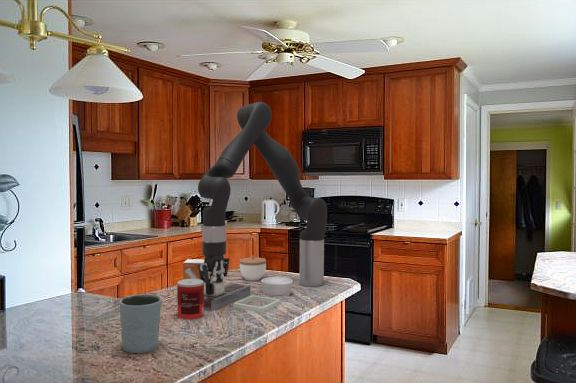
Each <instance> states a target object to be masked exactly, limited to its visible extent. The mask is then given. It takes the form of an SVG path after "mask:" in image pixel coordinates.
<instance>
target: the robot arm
mask: <svg viewBox="0 0 576 383" xmlns="http://www.w3.org/2000/svg"><path fill="white" fill-rule="evenodd" d="M272 112H273V111H272V109H271V107H270V106H269V105H268V104H267V103H266V102H263V101H257V102H252V103H250V104H246V105H244V106H241V107H240V108H239V109H238V110H237V112H236V118H237V120H236V121H237V123H238V124H239V126H240V128H241V131H240V132H239V133H238V134H237V135H236V136H235V137H234V138H233V139H232V140H231V141H230V142H229V143H228V144H227V145H226V146H225V148H224V149H223V151H222V152H221V154H220V155H219V157H218V159H217V161H216V162H215V163H214V165H213V166H211V167H210V168H209V169H208V170H207V171H206V172H205V173H204V174H203V175H202V177H201V178H200V180H199V182H198V185H197V191H198V194H199V196H200V197H201V198H203V199H209V200H212V202H211V205H210V206H207V207H205V208H203V211H202V230H201V231H202V234H201V235H202V236H201V241H202V243H201V244H202V245H201V246H202V247H201V249H202V250H201V253H202V255H203V256H204V259H203V260H204V263H203V264H199V265H198V269H199V275H200V280H203V282H205V284H206V294H207V295H212V294H213V283H212V282H213V280H214V277H215V278H216V279H215V280H217V281H224V278H225V277H228V273H229V266H230V258H229V257H224V256H225V255H226V254H227V230H226V212H227V208H228V205H229V201H230V200H229V199H230V196H231V185H230V182H229V180H228V179H230V178H232V177H234V176H235V174H236V172H237V171H238V169H239V167H240V166H241V164H242V161H244V159H245V157H246V155H247V153H248V152H249V151H250V149H251V148H252V146H253V145H254V146H255V148H256V149H257V150H258V152H259V153H260V155H261V156H262V158H263V160H264V162H266V164H267V166H268V167H269V170H270V171H271V172H272V174H273V176H274V177H275V179H276V180H277V181H278V183H279V185H280V186H281V187H282V189H283V191H284V192H285V194H286V196H287V197H288V200H289V202H290V203H291V206H292V207H293V209H294V210H293V211H295V214H296V215H297V217H299V219H301V220H302V221H306V227H305V229H304V230H303V229H302V230H301V231H300V232H299V285H301V286H305V287H320V286H323V285H324V280H325V279H324V271H325V267H324V266H325V265H324V264H325V260H324V259H325V236H326V235H325V234H326V232H327V222H328V221H327V219H328V206H327V203H326V201H325V200H324V199H323V198H320V197H314V196H313V197H312V196H309V194H308V193H307V191H305V189H304V187H303V185H302V183H301V178H300V177H301V176H300V175H301V174H300V168H299V166H298V164H297V162H296V161H295V159H294V157H293V156H292V154H291V152H290V151H289V150H288V149H287V148H285V147H284V146H283V145H282V144H280V143H279V142H278V141H276V140H275V139H273V138H272V137H271V136H270V135H269V134H268V133H267V131H266V129H267V128H268V127H269V125H270V124H271V121H272V119H273V113H272ZM208 271H209V272H210V273H208ZM209 275H210V279H209ZM204 276H205V278H204Z"/></svg>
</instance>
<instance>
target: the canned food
mask: <svg viewBox="0 0 576 383" xmlns="http://www.w3.org/2000/svg"><path fill="white" fill-rule="evenodd" d="M176 291H177V293H176V294H177V296H176V300H177V301H176V302H177V303H176V305H177V318H179V319H182V320H196V319H201V318H202V317H204V316H205V315H204V312H205V310H204V282H203V280H200V279H184V280H183V279H180V280H178V281H177V287H176Z"/></svg>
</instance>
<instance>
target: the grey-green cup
mask: <svg viewBox="0 0 576 383" xmlns="http://www.w3.org/2000/svg"><path fill="white" fill-rule="evenodd" d="M162 302H163V300H162V297H161V296H159V295H156V294H147V293H145V294H144V293H143V294H141V293H140V294H133V295H128V296H124V297H122V298H120V300H119V302H118V303H119V315H120V317H119V318H120V328H121V329H120V332H121V334H120V335H121V344H122V345H121V346H122V350H123V351H124V352H126V353H131V354H143V353H148V352H151V351H154V350H156V349H157V348H158V347H159V338H160V336H159V335H160V323H161V309H162Z"/></svg>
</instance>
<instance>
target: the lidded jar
mask: <svg viewBox="0 0 576 383" xmlns="http://www.w3.org/2000/svg"><path fill="white" fill-rule="evenodd" d="M266 270H267V259H265V258H264V257H255V255H251V256H250V257H244V258H241V259H239V272H240V274H241V276H242V277H243V278H244V280H245V281H251V282H253V281H255V282H256V281H259V280H260V281H261V279H262V277H263V276H264V275H265V273H266Z"/></svg>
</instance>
